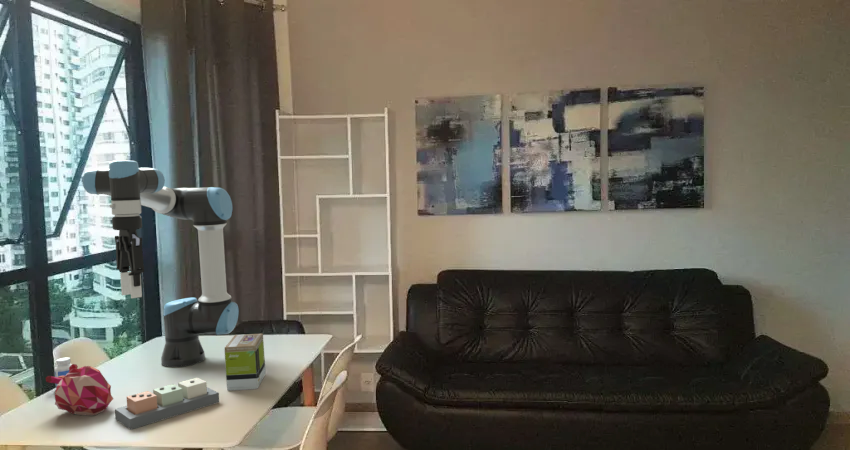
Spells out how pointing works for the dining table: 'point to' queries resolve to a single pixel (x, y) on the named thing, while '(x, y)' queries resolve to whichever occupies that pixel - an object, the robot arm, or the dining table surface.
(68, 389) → the sculpture
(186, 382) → the tile one
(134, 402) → the tile three
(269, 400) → the dining table surface
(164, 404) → the tile two
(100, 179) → the robot arm
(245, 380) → the tea box
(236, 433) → the dining table surface
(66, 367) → the pill bottle
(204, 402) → the button board
